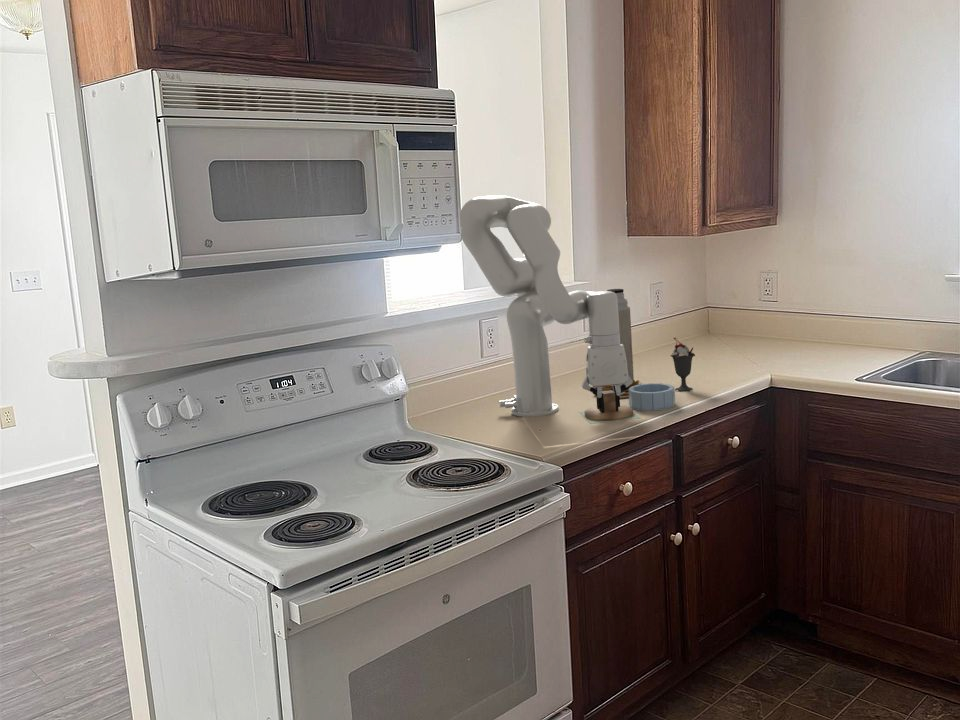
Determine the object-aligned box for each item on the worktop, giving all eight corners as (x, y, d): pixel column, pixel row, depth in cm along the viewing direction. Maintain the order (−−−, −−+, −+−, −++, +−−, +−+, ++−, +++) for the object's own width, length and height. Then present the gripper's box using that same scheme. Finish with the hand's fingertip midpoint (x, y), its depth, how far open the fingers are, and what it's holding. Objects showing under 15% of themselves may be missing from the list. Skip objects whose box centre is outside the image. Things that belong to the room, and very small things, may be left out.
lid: (591, 423, 220) (589, 399, 219) (579, 411, 232) (578, 389, 231) (639, 417, 221) (638, 394, 220) (625, 406, 234) (624, 384, 232)
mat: (590, 425, 220) (590, 423, 220) (578, 413, 233) (578, 411, 232) (641, 419, 221) (641, 417, 221) (626, 408, 234) (626, 406, 234)
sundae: (667, 389, 251) (664, 337, 249) (687, 385, 253) (685, 334, 251) (679, 393, 245) (677, 340, 242) (700, 389, 247) (698, 337, 244)
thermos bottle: (634, 378, 269) (629, 286, 264) (633, 383, 262) (628, 289, 257) (607, 379, 271) (602, 288, 266) (606, 384, 263) (600, 291, 258)
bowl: (637, 413, 227) (636, 395, 226) (624, 404, 238) (623, 386, 237) (680, 409, 228) (679, 390, 227) (666, 399, 239) (665, 381, 238)
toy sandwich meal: (621, 403, 240) (620, 386, 240) (584, 397, 251) (583, 381, 250) (650, 394, 248) (649, 377, 247) (613, 389, 259) (613, 373, 258)
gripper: (576, 345, 219) (581, 417, 222) (640, 339, 220) (644, 410, 224) (569, 341, 226) (574, 411, 229) (631, 335, 228) (635, 404, 231)
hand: (608, 410), depth 227 cm, fingers closed on lid, 3 cm apart
